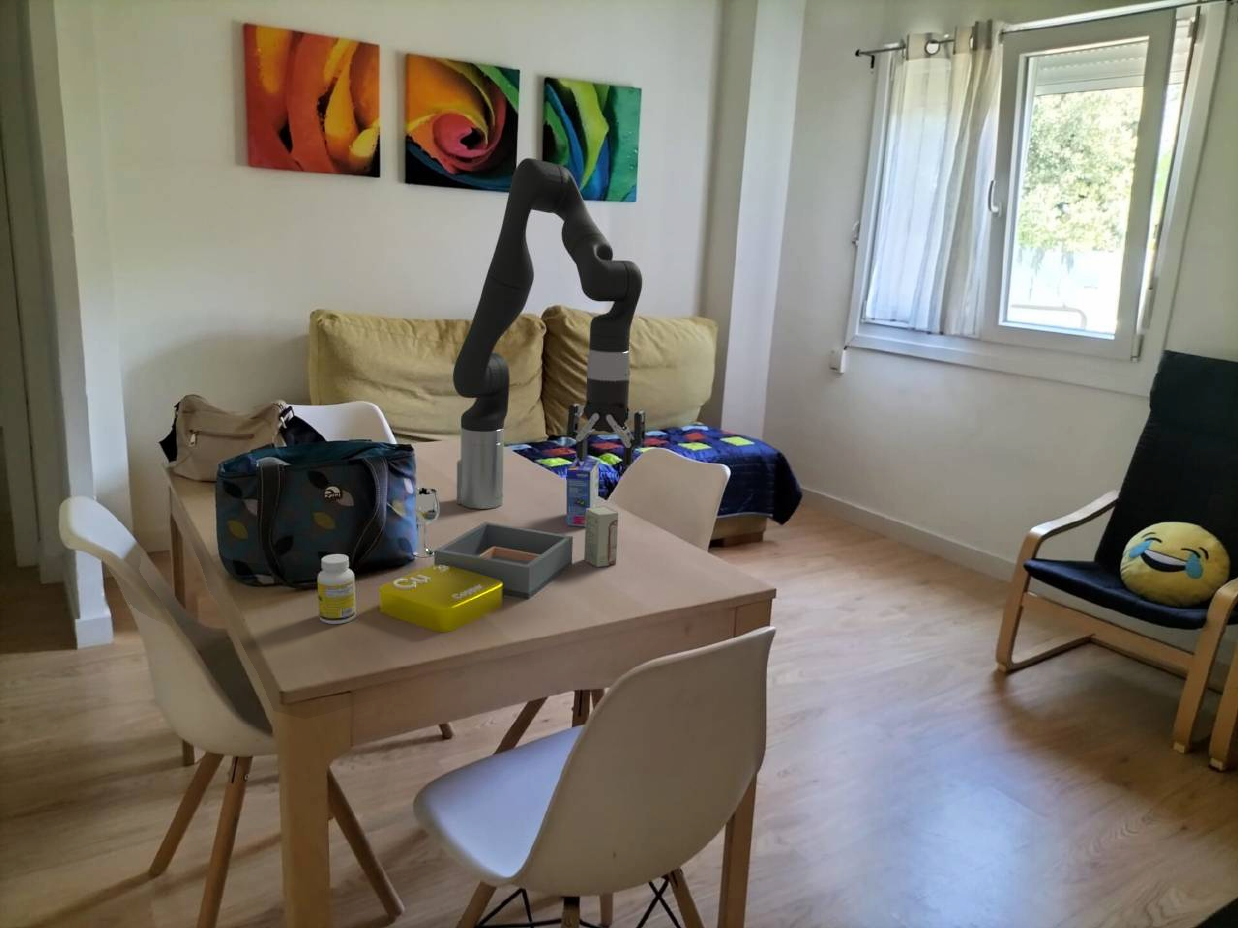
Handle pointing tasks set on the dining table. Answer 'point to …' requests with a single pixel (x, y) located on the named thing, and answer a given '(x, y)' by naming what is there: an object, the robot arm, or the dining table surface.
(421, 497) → the wineglass
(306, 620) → the dining table surface
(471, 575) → the element tile
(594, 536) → the skincare box
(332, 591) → the supplement bottle
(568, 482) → the ink cartridge box
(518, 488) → the dining table surface
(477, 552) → the box
